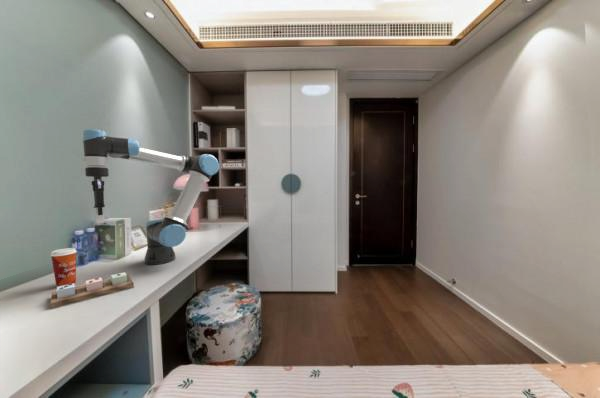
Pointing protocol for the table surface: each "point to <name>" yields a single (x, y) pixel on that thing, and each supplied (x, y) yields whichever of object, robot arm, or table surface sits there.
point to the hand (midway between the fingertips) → (100, 222)
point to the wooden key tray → (90, 293)
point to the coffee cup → (64, 266)
